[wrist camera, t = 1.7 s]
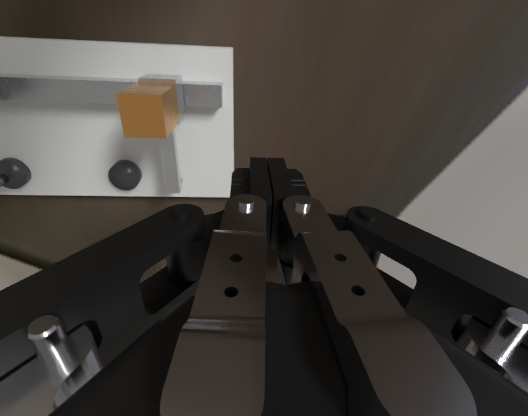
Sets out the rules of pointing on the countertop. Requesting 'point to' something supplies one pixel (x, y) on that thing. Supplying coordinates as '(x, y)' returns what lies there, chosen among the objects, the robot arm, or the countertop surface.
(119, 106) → the block
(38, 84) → the rail and fixed leg
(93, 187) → the hole plate
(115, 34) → the countertop surface
